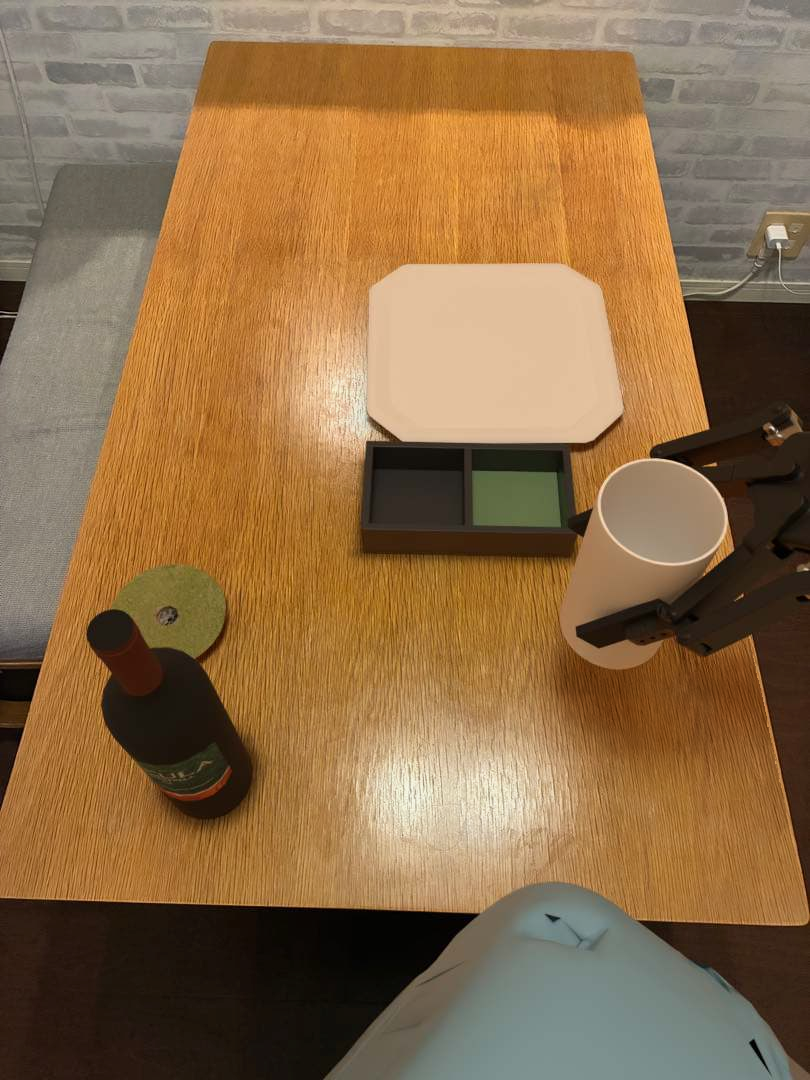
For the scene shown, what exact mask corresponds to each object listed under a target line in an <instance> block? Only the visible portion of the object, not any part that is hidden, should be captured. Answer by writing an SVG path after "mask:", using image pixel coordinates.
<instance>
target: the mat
mask: <svg viewBox="0 0 810 1080" xmlns="http://www.w3.org/2000/svg"><path fill="white" fill-rule="evenodd" d="M110 609H118V610H121V611H124V612H126V613H127V614H128V615H129V616H130V617H131V618H132V619H133V620H134V621H135V623H136V624H137V626H138V628H139V629H140V631H141V635H142V636H143V638H144V640H145V641H146V643H147V645H148V646H149V648H159V647H170V648H173V649H177V650H181V651H184V652H185V653H187V654H188V655H190V656H191V657H193V658H194V659H196V658H198V657H199V656H201V655H202V654H204V653H205V652H206V651H207V650H208V649H209V648H210V647H211V646H212V645H213V644H214V642H215V641H216V640H217V638H218V637H219V635H220V634H221V632H222V630H223V629H222V628H223V625H224V623H225V619H226V615H227V602H226V597H225V594H224V591H223V590H222V587H221V585H220V584H219V583H218V581H216V579H215V578H214V577H212V575H210V574H209V573H207V572H206V571H205V570H202V569H201V568H198V567H195V566H193V565H188V564H183V563H180V564H179V563H177V564H176V563H172V564H164V565H159V566H156V567H151V568H149V569H148V570H145V571H143V572H141V573H139V574H138V575H136V576H135V577H133V578H131V580H129V581H128V582H127V583H126V584H125V585H124V586H123V587H122V588H121V589H120V591H119V592H118V593H117V595H116V597H115V598H114V600H113V602H112V605H111V606H110Z"/></svg>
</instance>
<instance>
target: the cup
mask: <svg viewBox="0 0 810 1080" xmlns="http://www.w3.org/2000/svg"><path fill="white" fill-rule="evenodd" d="M593 507H594V508H593ZM593 507H592V508H593V511H592V514H591V517H590V520H589V523H588V526H587V529H586V532H585V535H584V538H583V537H582V538H583V539H582V541H581V545H580V547H579V550H578V554H577V556H576V560H575V563H574V565H573V568H572V572H571V574H570V577H569V581H568V583H567V587H566V590H565V593H564V596H563V599H562V602H561V605H560V609H559V624H560V629H561V632H562V634H563V637H564V639H565V641H566V642H567V644H568V645H569V647H570V648H571V649H572V650H573V651H574V652H575V653H576V654H577V655H578V656H580V657H581V658H582V659H584V660H585V661H587V662H588V663H591V664H593V665H594V666H597V667H601V668H605V669H610V670H626V669H632V668H635V667H639V666H640V665H643V664H644V663H646V662H648V661H649V660H650V659H651V658H652V657H654V655H655V654H656V653H657V652H658V651H659V649H660V647H661V646H662V644H663V642H664V641H665V639H664V640H661V641H658V642H655V643H650V644H648V645H645V646H639V645H635V644H634V643H632V642H630V641H628V640H624V641H621V642H618V643H615V644H612V645H609V646H606V647H603V648H600V649H598V648H596V647H595V646H593V645H591V644H589V643H587V642H585V641H584V640H582V639H580V638H578V637H576V626H579V625H582V624H585V623H588V622H590V621H593V620H596V619H599V618H602V617H605V616H608V615H611V614H613V613H616V612H619V611H622V610H625V609H628V608H631V607H634V606H636V605H639V604H642V603H646V602H649V601H652V600H655V599H658V598H659V599H661V600H662V601H664V602H665V603H667V604H668V605H670V604H671V603H672V602H674V601H675V600H676V599H677V598H678V597H679V596H681V595H682V594H683V593H684V592H685V591H687V590H688V589H689V588H690V587H691V586H692V585H694V584H695V583H696V582H697V581H698V580H700V579H701V578H702V577H703V576H704V575H705V573H706V570H707V569H708V568H709V565H710V564H711V563H712V560H713V559H714V557H715V555H716V554H717V552H718V550H719V548H720V547H721V545H722V543H723V542H724V540H725V538H726V537H725V536H726V534H727V530H728V525H729V516H728V510H727V506H726V504H725V501H724V498H722V497H721V495H720V493H719V492H718V490H717V489H716V488H715V486H714V485H713V484H712V483H711V482H710V481H709V480H708V479H707V478H705V477H704V476H703V475H702V474H700V473H699V472H697V471H696V470H694V469H692V468H690V467H688V466H686V465H683V464H681V463H678V462H675V461H671V460H665V459H651V458H642V459H636V460H632V461H630V462H627V463H625V464H622V465H621V466H619V467H617V468H616V469H615V470H613V471H612V472H611V473H609V475H608V476H607V477H606V478H605V479H604V481H603V483H602V484H601V487H600V488H599V490H598V494H597V496H596V499H595V502H594V504H593Z"/></svg>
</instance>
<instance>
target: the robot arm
mask: <svg viewBox="0 0 810 1080" xmlns="http://www.w3.org/2000/svg"><path fill="white" fill-rule="evenodd" d="M803 426H804V422H803V420H802V419H801V418H800V417H799V416H798V415H797V414H796V412H795V411H794V410H793V409H792V408H791V407H790V406H789V405H788V404H787V403H786V401H784V400H781V399H780V400H776V401H773V402H772V403H770V404H769V405H767V406H766V407H764V408H762V409H761V410H759V411H757V412H756V413H754V414H753V415H751V416H748V417H745V418H742V419H738V420H735V421H731V422H728V423H725V424H722V425H718V426H715V427H712V428H711V427H710V428H708V429H705V430H701V431H699V432H695V433H692V434H688V435H684V436H681V437H678V438H675V439H671V440H668V441H665V442H660V443H658V444H655V445H654V446H652V447H651V448H650V450H649V452H648V453H649V454H648V455H649V459H665V460H671V461H675V462H678V463H681V464H683V465H686V466H688V467H690V468H692V469H694V470H696V471H697V472H699V473H700V474H702V475H703V476H704V477H705V478H707V479H708V480H709V481H710V482H711V483H712V484H713V485H714V486H715V488H716V489H717V490H718V492H719V493H720V495H721V497H722V499H724V498H725V499H726V498H727V499H728V498H729V499H730V498H734V499H736V498H741V499H742V498H743V499H745V498H747V499H749V500H750V502H751V503H752V505H753V506H754V508H753V522H754V526H753V527H752V528H751V529H749V531H748V532H746V533H745V534H744V536H743V538H742V542H741V544H740V545H738V547H736V548H735V549H734V550H732V551H731V552H730V553H729V554H727V556H726V557H724V558H723V559H722V560H721V561H719V562H718V563H717V564H716V565H715V566H714V567H712V568H711V569H710V570H709V571H708V572H707V573H705V574H703V576H702V577H701V579H700V580H698V581H697V582H696V583H695V584H694V585H692V586H691V587H690V588H689V589H688V590H687V591H685V592H684V593H683V594H682V595H681V596H679V597H678V598H677V599H676V600H675V601H674V602H672V603H671V604H670V605H668V604H667V603H665V602H664V601H662V600H661V599H659V598H658V599H655V600H652V601H649V602H646V603H642V604H639V605H636V606H634V607H631V608H628V609H625V610H622V611H619V612H616V613H613V614H611V615H608V616H605V617H602V618H599V619H596V620H593V621H590V622H588V623H585V624H582V625H579V626H576V637H578V638H580V639H582V640H584V641H585V642H587V643H589V644H591V645H593V646H595V647H596V648H598V649H600V648H603V647H606V646H609V645H612V644H615V643H618V642H621V641H624V640H628V641H630V642H632V643H634V644H635V645H639V646H645V645H648V644H650V643H655V642H658V641H661V640H664V641H665V640H667V639H670V638H673V637H675V641H676V643H677V644H678V645H680V646H681V647H683V648H684V649H686V650H688V651H689V652H691V653H692V654H694V655H696V656H698V657H699V658H707V657H709V656H711V655H713V654H716V653H717V652H719V651H721V650H723V649H725V648H728V647H730V646H732V645H734V644H736V643H737V642H740V641H742V640H744V639H746V638H748V637H750V636H752V635H754V634H757V633H758V632H760V631H762V630H764V629H766V628H768V627H770V626H772V625H774V624H777V623H778V622H780V621H783V620H785V619H787V618H789V617H791V616H793V615H795V614H796V613H799V612H801V611H803V610H806V609H807V608H810V561H808V562H806V563H799V564H798V565H797V567H796V569H795V570H796V572H791V573H789V574H785V575H782V576H781V577H778V578H777V579H774V580H771V581H770V582H768V583H766V584H764V585H762V586H761V587H758V588H756V589H755V590H753V591H751V592H749V593H747V594H745V595H743V594H744V593H746V592H747V591H748V590H749V589H751V588H752V587H753V586H754V585H756V584H757V583H758V582H759V581H761V580H762V579H763V578H764V577H766V576H767V575H768V574H769V573H770V572H772V571H778V570H780V569H782V568H783V567H785V566H786V565H788V563H789V562H791V561H792V560H793V559H795V558H796V557H797V556H798V555H799V554H805V555H809V556H810V431H803V430H802V428H803ZM772 447H777V449H776V450H775V451H774V452H773V453H772V455H771V456H769V458H768V459H767V460H763V459H762V460H741V461H736V462H735V463H734V464H731V465H729V464H728V465H713V464H717V463H722V462H724V461H727V460H731V459H736V458H738V457H739V458H740V457H743V456H747V455H750V454H755V453H758V452H762V451H765V450H768V449H769V448H772ZM593 508H594V506H593V507H591V508H589V509H587V510H585V511H582V512H580V513H578V514H576V515H575V516H573V517H571V518H569V519H567V522H568V528H569V529H571V530H572V531H574V532H575V533H577V534H578V535H577V536H580V537H581V538H584V535H585V532H586V529H587V526H588V523H589V520H590V517H591V514H592V511H593ZM770 543H771V544H772V545H773V546H771V547H770V546H769V545H768V544H770ZM742 595H743V596H742ZM322 1080H810V1073H809V1072H808V1071H806V1070H805V1068H803V1067H802V1066H801V1065H800V1064H798V1063H797V1062H796V1061H795V1060H794V1059H792V1058H791V1056H789V1055H788V1054H787V1052H786V1050H785V1049H784V1047H783V1046H782V1044H781V1042H780V1041H779V1039H778V1037H777V1035H776V1034H775V1032H774V1031H773V1029H772V1028H771V1026H770V1025H769V1024H768V1023H767V1021H766V1020H764V1019H763V1018H762V1016H761V1015H760V1014H759V1013H758V1011H757V1010H756V1008H755V1006H754V1005H753V1004H752V1003H751V1002H750V1001H749V1000H748V999H747V998H746V997H745V996H744V995H742V994H741V993H740V992H739V991H738V990H737V989H735V987H733V986H732V984H730V983H729V982H728V981H727V980H726V979H725V978H724V977H723V976H721V975H720V974H719V973H718V971H716V970H715V969H713V968H712V967H711V966H709V965H706V964H704V963H700V962H698V961H695V960H692V959H690V958H687V957H686V956H685V955H684V954H683V953H681V951H679V950H677V949H676V948H674V947H673V946H671V945H670V944H669V943H667V942H666V941H665V940H663V939H662V938H661V937H659V936H658V935H657V934H655V933H654V932H653V931H652V930H650V929H649V928H647V927H646V926H645V925H643V924H642V923H641V922H639V920H637V919H635V918H634V917H633V916H631V915H630V914H629V913H627V912H626V911H624V910H623V909H622V908H621V907H619V906H618V905H616V903H614V902H613V901H611V900H610V899H608V898H607V897H605V896H603V895H602V894H601V893H598V892H596V891H595V890H592V889H590V888H587V887H584V886H583V885H578V884H576V883H570V882H563V881H539V882H535V883H531V884H527V885H525V886H522V887H519V888H517V889H515V890H512V891H511V892H508V893H507V894H506V895H504V896H502V897H500V899H497V901H495V902H493V903H492V904H491V905H490V906H488V907H487V908H485V909H484V910H482V912H481V913H479V914H478V915H477V916H476V917H475V918H473V920H471V921H470V922H469V923H468V924H467V925H465V927H463V928H462V929H461V930H460V931H459V932H458V933H457V934H456V935H455V936H454V937H453V938H452V940H451V941H450V942H449V944H448V945H447V946H446V947H445V948H444V950H443V951H442V952H441V953H440V955H439V956H438V957H437V959H436V960H435V961H434V962H433V963H432V964H431V965H430V966H429V967H428V968H427V969H426V970H424V971H423V972H422V973H420V974H419V975H418V976H416V977H415V978H414V979H413V980H412V981H411V982H410V983H409V984H408V985H406V986H405V987H404V988H403V989H402V990H401V991H400V992H399V993H398V994H397V995H396V997H394V999H393V1000H392V1002H390V1004H389V1005H388V1006H387V1007H386V1008H385V1009H384V1010H383V1011H382V1012H381V1013H380V1014H379V1015H378V1016H377V1017H376V1018H375V1019H374V1020H373V1021H372V1023H371V1024H370V1025H369V1026H368V1028H367V1029H365V1031H363V1032H362V1033H361V1035H360V1036H359V1037H358V1039H356V1041H355V1042H354V1044H353V1045H352V1046H351V1047H350V1049H349V1050H348V1052H347V1053H346V1054H345V1055H344V1056H343V1057H342V1058H341V1060H340V1061H338V1063H337V1064H336V1065H335V1066H334V1067H333V1068H332V1069H331V1070H330V1072H329V1073H328V1074H327V1075H326V1076H325V1077H324V1078H323V1079H322Z"/></svg>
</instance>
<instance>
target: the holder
mask: <svg viewBox="0 0 810 1080" xmlns="http://www.w3.org/2000/svg"><path fill="white" fill-rule="evenodd" d="M570 446H571V444H566V445H553V444H503V443H454V442H405V441H399V440H397V441H396V440H395V441H394V440H366V441H365V452H364V453H365V454H364V470H363V484H362V485H363V486H362V498H361V499H362V500H361V516H360V539H361V540H360V541H361V550H362V551H361V552H362V553H363V554H397V555H399V554H400V555H437V556H438V555H443V556H444V555H445V556H484V557H485V556H491V557H527V558H528V557H530V558H533V557H535V558H571V556H572V554H573V550H574V547H575V544H576V541H577V538H578V536H579V535H578V534H577V533H575V532H574V531H572V530H571V529H569V528H568V522H567V519H569V518H571V517H573V516H575V515H577V509H576V498H575V488H574V477H573V469H572V468H573V467H572V456H571V455H572V454H571V447H570Z"/></svg>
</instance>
